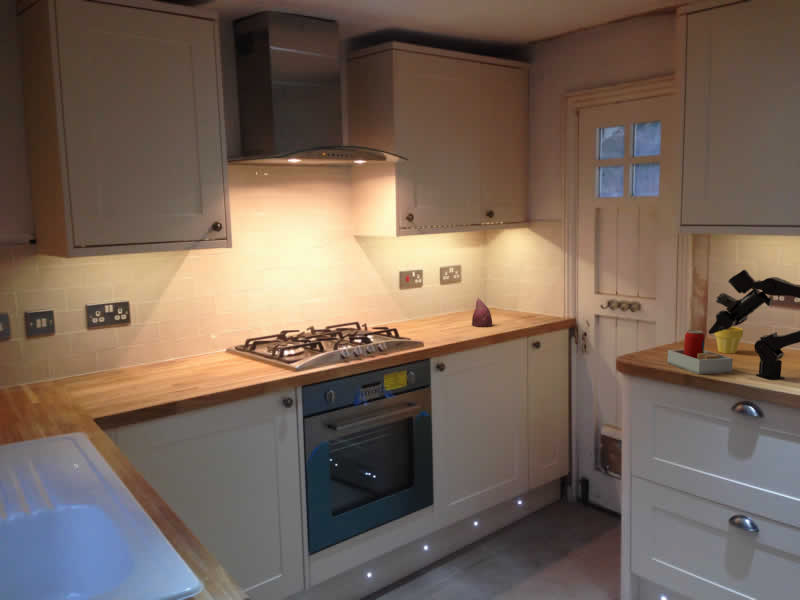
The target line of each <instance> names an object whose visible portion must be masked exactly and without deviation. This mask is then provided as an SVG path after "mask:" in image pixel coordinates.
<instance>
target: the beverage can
mask: <svg viewBox="0 0 800 600" xmlns="http://www.w3.org/2000/svg"><path fill="white" fill-rule="evenodd" d="M705 337H706V335H705V334H704V331H702V330H697V329H696V330H695V329H689V330H686V332H685V334H684V340H683V341H684V343H683V350H684V355H687V356H690V357H693V358H696V359H697V354H698V353H704V350H705V339H706V338H705Z"/></svg>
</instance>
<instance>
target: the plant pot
mask: <svg viewBox="0 0 800 600" xmlns="http://www.w3.org/2000/svg"><path fill="white" fill-rule="evenodd" d="M714 336H715V338H716V339H715V340H716V345H717V351H718V353H721V352H722V354H729V353H733V354H736V353H737V351H738V348H739V346H740V341H741V339H743V336H744V329H743V328H741V327H736V326H733V327H731V328H729V329H726V330H723V331H719V332H716V333H714Z"/></svg>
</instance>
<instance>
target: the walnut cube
mask: <svg viewBox="0 0 800 600" xmlns="http://www.w3.org/2000/svg"><path fill="white" fill-rule="evenodd" d="M712 353H713V352H712ZM712 353H698V354H697V359H699V360H704V359H719V356H718V355H715V354H712Z"/></svg>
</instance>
